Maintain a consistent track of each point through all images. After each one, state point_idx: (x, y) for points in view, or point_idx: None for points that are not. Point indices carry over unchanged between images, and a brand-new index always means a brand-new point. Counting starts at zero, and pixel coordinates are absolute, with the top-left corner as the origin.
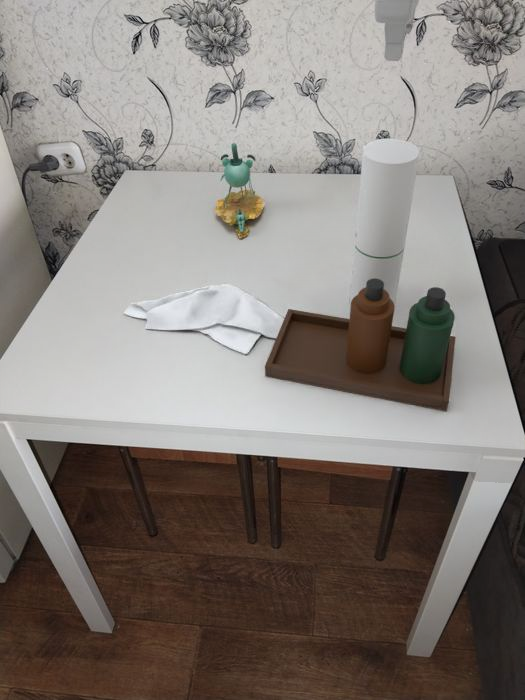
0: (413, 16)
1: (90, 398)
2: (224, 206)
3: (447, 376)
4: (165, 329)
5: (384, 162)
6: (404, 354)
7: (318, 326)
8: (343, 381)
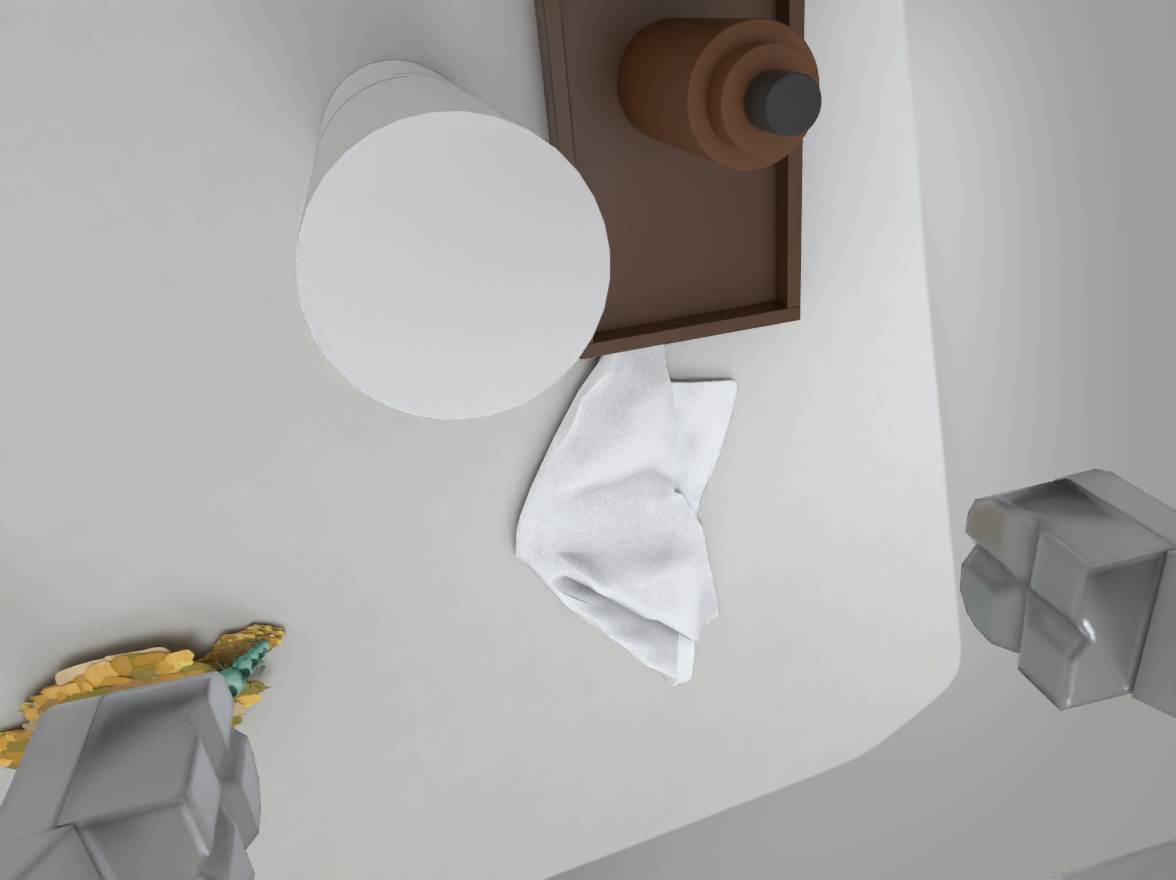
0: (113, 809)
1: (915, 582)
2: None
3: None
4: (712, 579)
5: (602, 268)
6: None
7: None
8: None
